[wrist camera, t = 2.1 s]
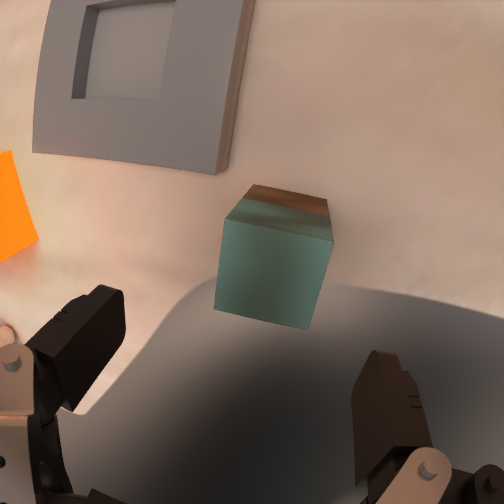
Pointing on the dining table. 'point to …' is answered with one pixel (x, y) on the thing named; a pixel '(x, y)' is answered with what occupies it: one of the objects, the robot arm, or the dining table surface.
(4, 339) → the lightbulb
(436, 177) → the dining table surface
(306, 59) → the dining table surface
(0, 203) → the orange juice
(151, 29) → the socket plate
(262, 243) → the block stack
